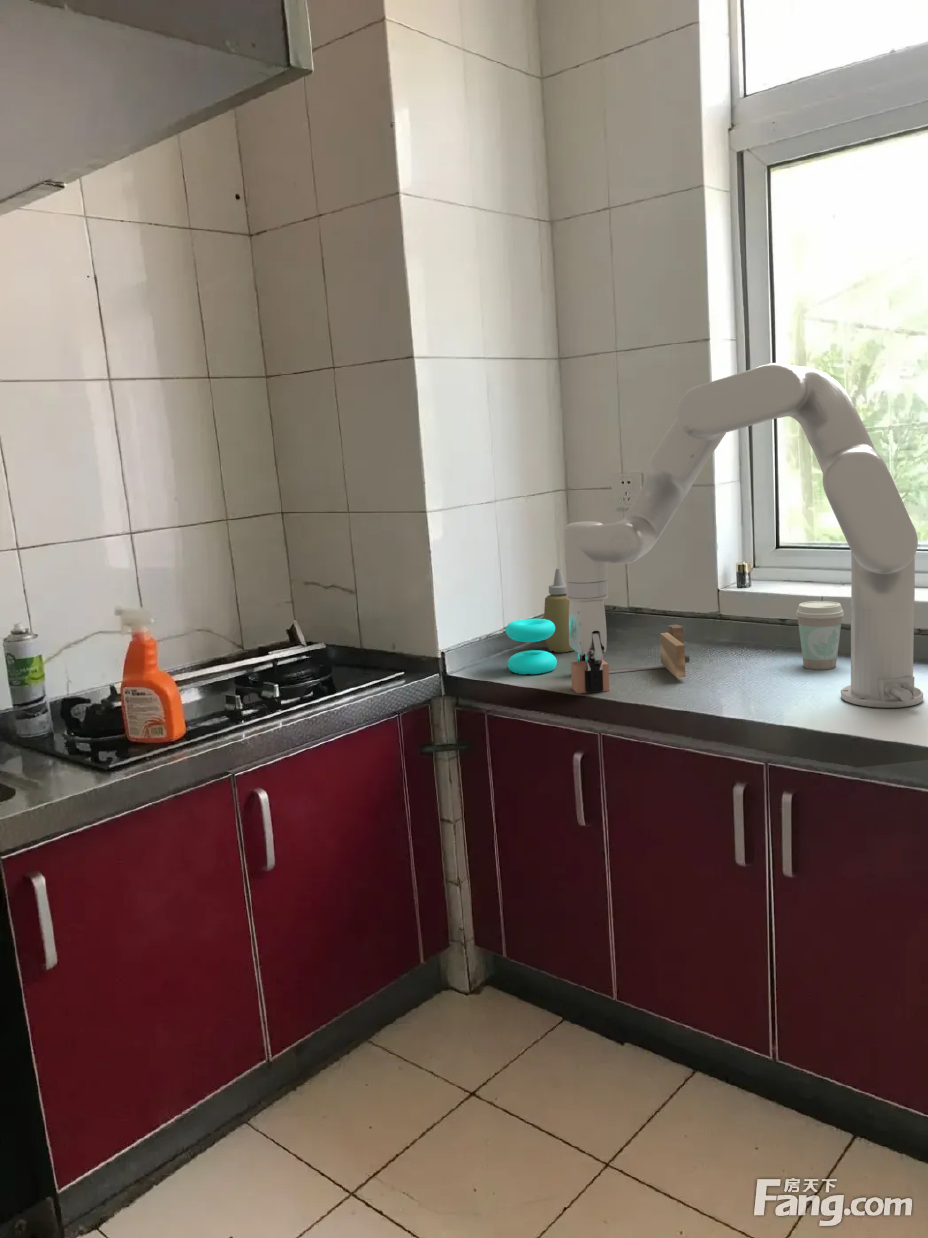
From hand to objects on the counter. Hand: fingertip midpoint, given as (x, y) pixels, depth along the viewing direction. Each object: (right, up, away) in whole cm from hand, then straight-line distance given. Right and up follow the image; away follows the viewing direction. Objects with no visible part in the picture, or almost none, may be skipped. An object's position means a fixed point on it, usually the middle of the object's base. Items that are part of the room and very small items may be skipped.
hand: (590, 687), depth 183 cm
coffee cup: (+45, +3, +7) cm, 45 cm away
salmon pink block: (0, 0, 0) cm, 0 cm away
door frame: (+9, +2, +13) cm, 16 cm away
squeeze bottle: (-2, +6, +36) cm, 36 cm away
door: (+17, +3, +7) cm, 19 cm away
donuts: (-9, +2, +19) cm, 21 cm away
